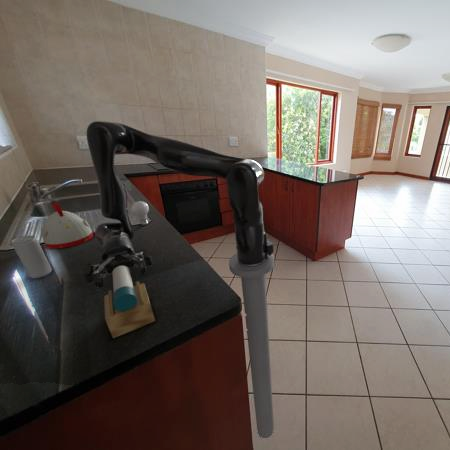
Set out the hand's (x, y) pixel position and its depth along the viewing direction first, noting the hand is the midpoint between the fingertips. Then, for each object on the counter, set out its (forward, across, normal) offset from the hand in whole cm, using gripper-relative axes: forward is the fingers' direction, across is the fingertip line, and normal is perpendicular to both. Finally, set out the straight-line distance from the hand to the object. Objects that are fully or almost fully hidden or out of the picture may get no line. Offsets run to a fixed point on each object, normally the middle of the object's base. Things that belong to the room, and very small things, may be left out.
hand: (121, 277), depth 58 cm
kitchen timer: (-55, -15, +8) cm, 58 cm away
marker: (+4, 0, 0) cm, 4 cm away
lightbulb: (-55, +10, +8) cm, 57 cm away
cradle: (+7, 0, +8) cm, 10 cm away
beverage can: (-30, -20, +8) cm, 37 cm away
